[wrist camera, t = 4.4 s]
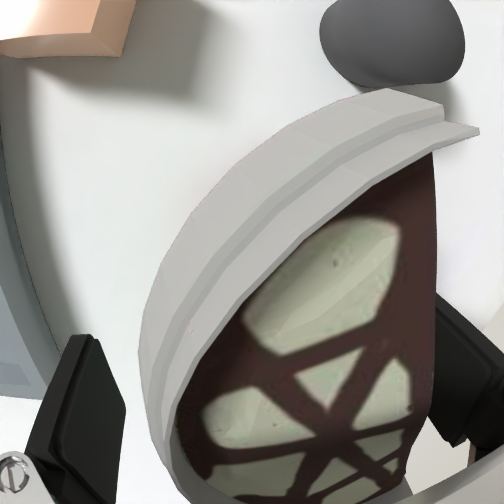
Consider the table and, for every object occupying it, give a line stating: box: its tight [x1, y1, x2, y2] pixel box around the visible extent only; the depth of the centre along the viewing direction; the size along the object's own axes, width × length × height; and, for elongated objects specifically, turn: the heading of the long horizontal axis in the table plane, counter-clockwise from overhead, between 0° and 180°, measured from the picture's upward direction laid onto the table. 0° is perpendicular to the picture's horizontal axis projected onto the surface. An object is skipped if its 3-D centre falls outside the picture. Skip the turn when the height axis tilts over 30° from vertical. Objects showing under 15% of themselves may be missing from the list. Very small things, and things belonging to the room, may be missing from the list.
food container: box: [138, 88, 480, 504], centre depth 10 cm, size 12×6×10 cm, turn 15°
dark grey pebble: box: [319, 0, 465, 88], centre depth 9 cm, size 4×4×4 cm
